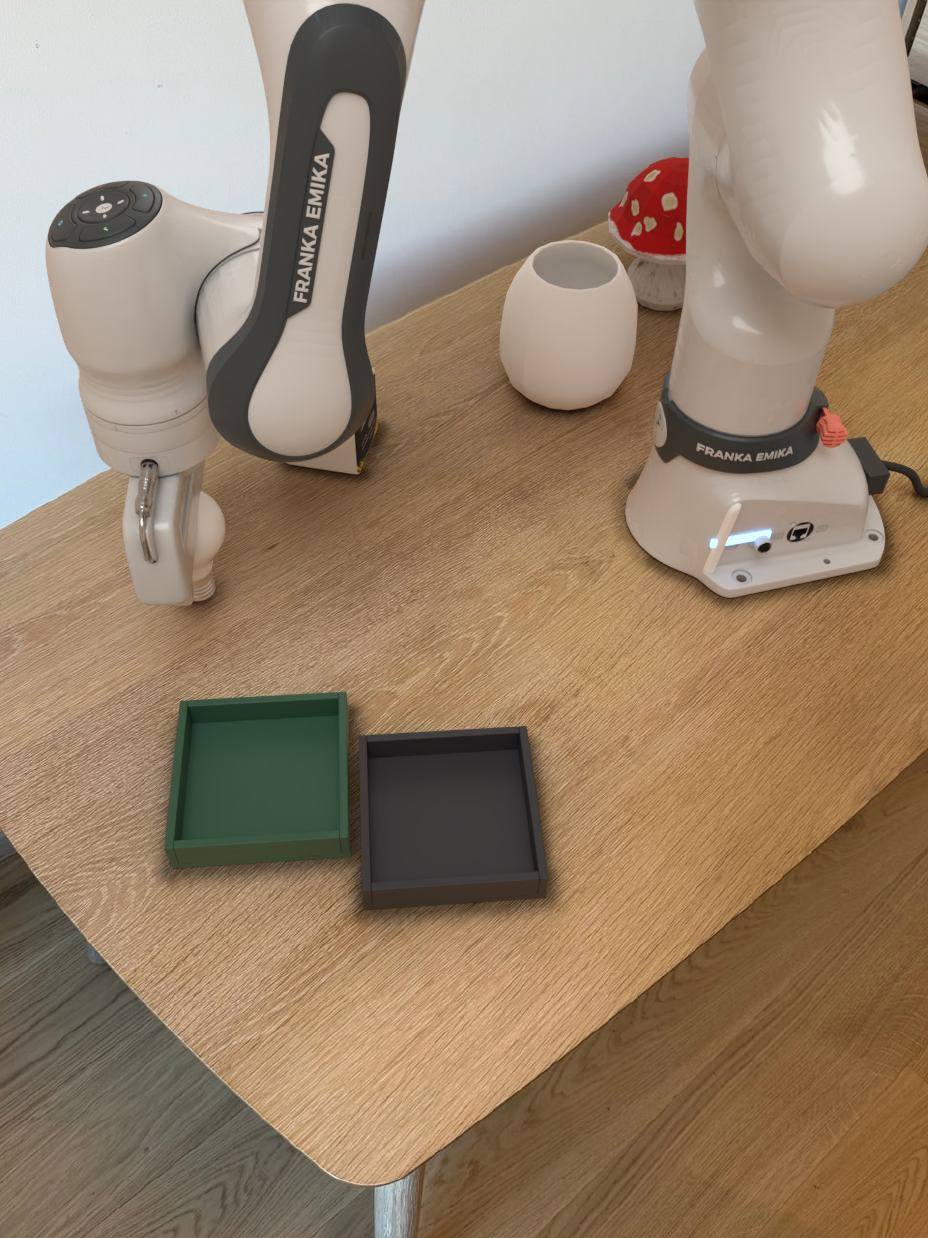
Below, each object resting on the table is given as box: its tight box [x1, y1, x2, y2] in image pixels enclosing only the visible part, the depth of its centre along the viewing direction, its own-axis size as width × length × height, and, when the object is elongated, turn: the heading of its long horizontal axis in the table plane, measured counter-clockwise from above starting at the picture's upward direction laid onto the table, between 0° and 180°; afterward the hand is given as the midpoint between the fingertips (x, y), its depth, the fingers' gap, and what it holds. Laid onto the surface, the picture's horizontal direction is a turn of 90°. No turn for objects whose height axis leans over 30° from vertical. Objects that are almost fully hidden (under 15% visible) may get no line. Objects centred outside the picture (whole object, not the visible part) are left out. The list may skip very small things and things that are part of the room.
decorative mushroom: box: [607, 156, 689, 312], centre depth 115 cm, size 14×14×15 cm
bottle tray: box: [357, 725, 549, 911], centre depth 76 cm, size 12×12×3 cm
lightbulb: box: [192, 490, 227, 602], centre depth 87 cm, size 6×6×11 cm
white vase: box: [498, 239, 639, 411], centre depth 105 cm, size 13×13×14 cm
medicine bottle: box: [286, 367, 379, 476], centre depth 99 cm, size 7×7×12 cm
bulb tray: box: [163, 691, 352, 869], centre depth 78 cm, size 12×12×3 cm
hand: (187, 555), depth 88 cm, fingers open, 8 cm apart
